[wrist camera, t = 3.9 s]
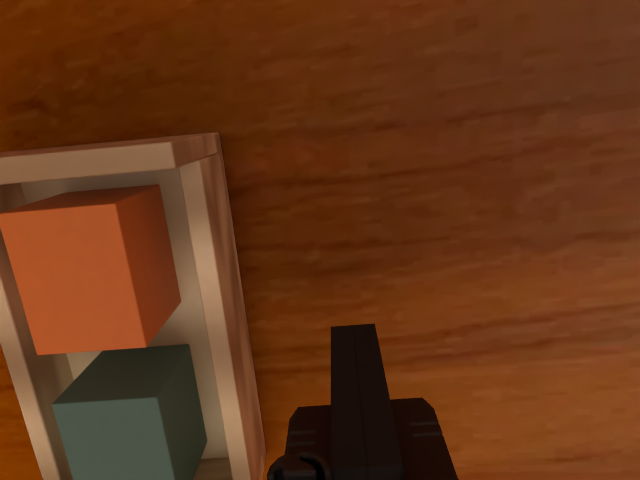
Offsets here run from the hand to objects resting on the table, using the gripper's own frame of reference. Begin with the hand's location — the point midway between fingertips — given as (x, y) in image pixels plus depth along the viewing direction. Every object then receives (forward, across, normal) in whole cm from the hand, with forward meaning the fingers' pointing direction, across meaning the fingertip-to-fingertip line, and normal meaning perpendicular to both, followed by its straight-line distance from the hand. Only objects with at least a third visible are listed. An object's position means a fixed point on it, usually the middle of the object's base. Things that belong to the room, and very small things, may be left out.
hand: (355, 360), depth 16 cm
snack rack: (+5, -9, 0) cm, 11 cm away
